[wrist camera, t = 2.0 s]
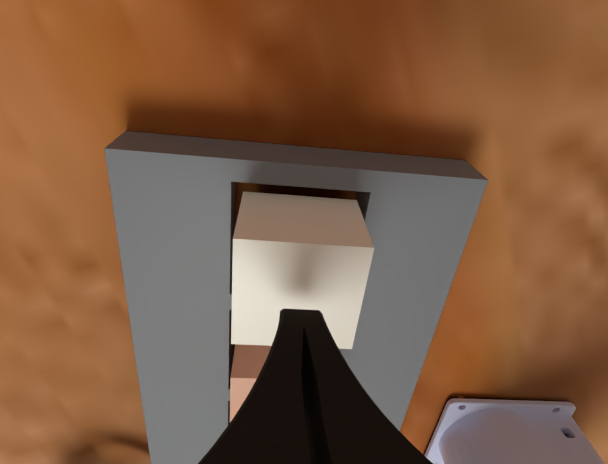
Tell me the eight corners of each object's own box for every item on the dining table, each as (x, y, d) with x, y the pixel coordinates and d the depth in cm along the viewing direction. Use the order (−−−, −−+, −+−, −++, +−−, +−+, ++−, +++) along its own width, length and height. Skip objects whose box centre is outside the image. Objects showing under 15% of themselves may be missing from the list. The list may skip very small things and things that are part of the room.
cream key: (356, 199, 18) (374, 247, 14) (340, 289, 20) (351, 348, 17) (243, 191, 17) (232, 238, 14) (240, 284, 20) (230, 344, 16)
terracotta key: (334, 319, 21) (344, 381, 18) (322, 383, 24) (329, 449, 20) (239, 315, 21) (230, 377, 17) (237, 380, 23) (229, 447, 20)
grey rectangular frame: (465, 160, 19) (488, 179, 17) (378, 437, 30) (385, 470, 28) (126, 130, 18) (104, 148, 16) (161, 432, 29) (151, 467, 27)
